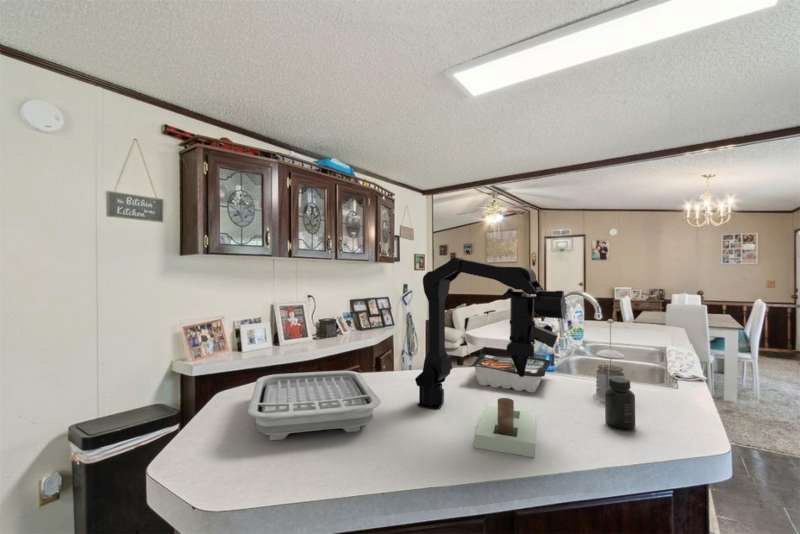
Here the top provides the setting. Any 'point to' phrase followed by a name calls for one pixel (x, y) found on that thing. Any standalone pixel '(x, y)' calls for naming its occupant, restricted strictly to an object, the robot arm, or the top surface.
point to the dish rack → (311, 402)
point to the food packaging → (509, 372)
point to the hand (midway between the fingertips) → (521, 376)
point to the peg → (505, 416)
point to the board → (515, 444)
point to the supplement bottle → (620, 405)
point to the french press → (607, 370)
